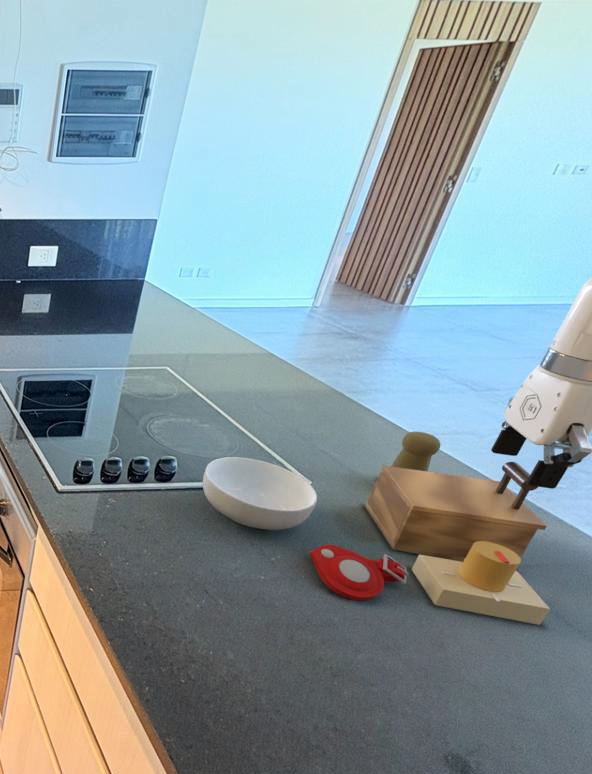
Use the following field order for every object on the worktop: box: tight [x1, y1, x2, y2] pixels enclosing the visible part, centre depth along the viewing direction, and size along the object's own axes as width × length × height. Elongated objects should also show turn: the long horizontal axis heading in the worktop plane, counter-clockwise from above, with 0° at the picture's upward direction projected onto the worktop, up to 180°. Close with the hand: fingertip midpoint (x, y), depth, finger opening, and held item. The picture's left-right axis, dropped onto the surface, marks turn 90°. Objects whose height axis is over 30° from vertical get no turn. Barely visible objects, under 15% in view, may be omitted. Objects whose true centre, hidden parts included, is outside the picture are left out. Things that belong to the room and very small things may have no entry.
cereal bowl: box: [202, 456, 318, 531], centre depth 106 cm, size 17×17×7 cm
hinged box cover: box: [381, 461, 548, 531], centre depth 97 cm, size 16×13×6 cm
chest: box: [364, 469, 538, 562], centre depth 101 cm, size 16×13×8 cm
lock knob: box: [459, 541, 522, 592], centre depth 87 cm, size 5×5×5 cm
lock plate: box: [411, 554, 551, 626], centre depth 89 cm, size 12×9×3 cm
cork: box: [391, 431, 441, 472], centre depth 113 cm, size 6×6×11 cm
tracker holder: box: [308, 544, 410, 601], centre depth 93 cm, size 12×4×10 cm
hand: (520, 469), depth 94 cm, fingers open, 9 cm apart
